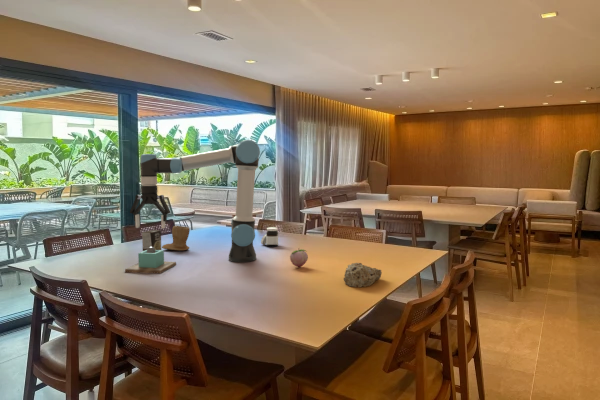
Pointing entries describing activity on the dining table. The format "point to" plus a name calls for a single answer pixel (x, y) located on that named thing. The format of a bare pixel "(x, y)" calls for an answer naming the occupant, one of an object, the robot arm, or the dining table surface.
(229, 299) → the dining table surface
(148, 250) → the post
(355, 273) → the rock
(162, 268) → the base plate
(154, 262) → the teal hollow square block
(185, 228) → the brown piece
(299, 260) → the decorative fruit
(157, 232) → the coffee box
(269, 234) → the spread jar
